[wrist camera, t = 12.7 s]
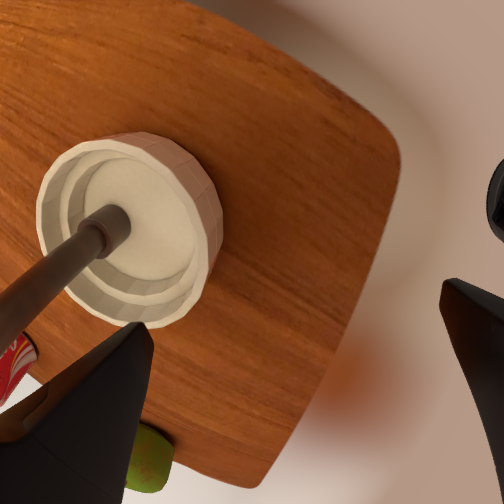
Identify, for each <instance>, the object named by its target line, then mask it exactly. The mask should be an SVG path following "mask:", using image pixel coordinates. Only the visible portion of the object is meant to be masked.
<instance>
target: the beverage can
mask: <svg viewBox="0 0 504 504" xmlns="http://www.w3.org/2000/svg"><path fill="white" fill-rule="evenodd" d="M36 359H37V356H36V353H35V349H34V347H33V345H32V343H31V342H30V340H29V339H28V338H27V337H26V336H25V335H24V334H23V333H21V334H20V335H19V336H18V338H17V339H16V340H15V341H14V342H13V343H12V344H11V346H10V347H9V348H8V349H7V350H6V352H5V353H4V354H3V355H2V356H1V357H0V407H1V406H2V405H4V403H5V402H6V401H7V399H8V398H9V396H10V395H11V393H12V392H13V390H14V389H15V388H16V386H17V385H18V384H19V382H20V381H21V379H22V378H23V377H24V375H25V374H26V373H27V371H28V370H29V369H30V367H31V366H32V365H33V363H34V362H35V361H36Z"/></svg>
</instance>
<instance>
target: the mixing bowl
mask: <svg viewBox="0 0 504 504" xmlns="http://www.w3.org/2000/svg"><path fill="white" fill-rule="evenodd" d="M108 204H113V205H117V206H119V207H121V208H122V209H123V210H124V211H125V212H126V213H127V215H128V217H129V219H130V223H131V231H130V235H129V237H128V238H127V239H126V240H125V241H124V242H123V243H122V244H121V245H120V246H118V247H117V248H116V249H115V250H114V251H113V252H112V253H111V254H110V255H109V256H108V257H106V258H104V259H94V260H93V261H92V262H91V263H90V264H89V265H88V266H87V267H86V268H85V269H84V270H82V271H81V272H80V273H79V274H78V275H77V276H76V277H75V278H74V279H73V280H72V281H71V282H70V283H69V284H68V285H67V286H66V287H65V288H64V289H65V291H66V292H67V293H68V294H69V295H70V297H72V299H74V300H75V301H76V302H77V303H79V304H80V305H81V306H82V307H83V308H85V309H86V310H87V311H89V312H90V313H91V314H93V315H95V316H97V317H99V318H101V319H103V320H105V321H107V322H109V323H111V324H114V325H117V326H122V327H124V326H125V325H127V324H128V323H130V322H136V321H141V322H143V323H144V324H145V325H146V327H147V329H152V328H161V327H164V326H166V325H168V324H170V323H172V322H174V321H176V320H178V319H180V318H182V317H184V316H185V315H186V314H187V312H188V311H189V310H190V309H191V308H192V307H193V305H194V304H195V303H196V302H197V301H198V300H199V298H200V297H201V294H202V292H203V290H204V288H205V285H206V283H207V281H208V278H209V276H210V274H211V272H212V270H213V267H214V265H215V263H216V260H217V257H218V254H219V251H220V248H221V245H222V242H223V210H222V207H221V204H220V201H219V198H218V195H217V192H216V189H215V186H214V183H213V182H212V180H211V179H210V178H209V176H208V175H207V173H206V172H205V171H204V169H203V168H202V167H201V165H200V164H199V162H198V161H197V160H196V158H194V156H193V155H191V154H190V153H188V152H187V151H186V150H184V149H183V148H182V147H180V146H179V145H177V144H176V143H175V142H173V141H172V140H170V139H167V138H164V137H161V136H157V135H154V134H150V133H147V132H130V133H120V134H114V135H110V136H105V137H101V138H97V139H93V140H89V141H85V142H82V143H80V144H78V145H76V146H75V147H73V148H71V149H70V150H68V151H66V152H65V153H63V154H61V155H60V156H59V157H58V158H57V160H56V161H55V162H54V164H53V165H52V166H51V168H50V169H49V170H48V172H47V173H46V174H45V176H44V178H43V181H42V185H41V188H40V191H39V195H38V198H37V202H36V229H37V233H38V237H39V241H40V245H41V249H42V253H43V255H44V257H45V256H46V255H47V254H49V253H50V252H51V251H53V250H54V249H55V248H57V247H58V246H59V245H61V244H62V243H63V242H65V241H66V240H67V239H69V238H70V237H71V236H73V235H74V234H75V233H77V228H78V225H79V223H80V222H81V221H82V220H83V219H84V218H86V217H88V216H89V215H91V214H92V213H94V212H95V211H97V210H98V209H100V208H101V207H103V206H105V205H108Z"/></svg>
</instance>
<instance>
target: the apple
mask: <svg viewBox="0 0 504 504" xmlns="http://www.w3.org/2000/svg"><path fill="white" fill-rule="evenodd" d="M173 456H174V448H173V447H172V445H171V444H170V443H169V442H168V441H167V440H166V439H165V438H164V437H163V436H162V435H161V434H160V433H158V432H157V431H156V430H154V429H153V428H151V427H149V426H146V425H144V424H141V423H139V425H138V429H137V433H136V437H135V442H134V446H133V450H132V455H131V459H130V464H129V469H128V473H127V478H126V483H125V487H126V488H129V489H132V490H135V491H139V492H143V493H154V492H157V491H160V490H162V488H163V487H164V485H165V484H166V483H167V480H168V477H169V473H170V469H171V466H172V461H173Z"/></svg>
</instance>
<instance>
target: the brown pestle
mask: <svg viewBox="0 0 504 504" xmlns="http://www.w3.org/2000/svg"><path fill="white" fill-rule="evenodd" d="M130 231H131V223H130V219H129V217H128V215H127V213H126V212H125V211H124V210H123V209H122V208H121V207H119V206H117V205H113V204H108V205H105V206H103V207H101V208H100V209H98V210H97V211H95V212H94V213H92V214H91V215H89V216H88V217H86V218H84V219H83V220H82V221H81V222H80V223H79V225H78V228H77V233H75V234H74V235H73V236H71V237H70V238H69V239H67V240H66V241H65V242H63V243H62V244H61V245H59V246H58V247H57V248H55V249H54V250H53V251H51V252H50V253H49V254H47V255H46V256H45V257H44V258H42V259H41V260H40V261H39V262H37V263H36V264H35V265H34V266H32V267H31V268H30V269H29V270H28V271H26V272H25V273H24V274H23V275H22V276H20V277H19V278H18V279H17V280H16V281H15V282H13V283H12V284H11V285H10V286H9V287H8V288H7V289H5V290H4V291H3V292H2V293H1V294H0V357H1V356H2V355H3V354H4V353H5V352H6V350H7V349H8V348H9V347H10V346H11V344H12V343H13V342H14V341H15V340H16V339H17V338H18V336H19V335H20V334H21V333H22V332H23V331H24V330H25V329H26V328H27V326H28V325H29V324H30V323H31V322H32V321H33V320H34V319H35V318H36V317H37V316H38V315H39V313H40V312H41V311H42V310H43V309H44V308H45V307H46V306H47V305H48V304H49V303H50V302H51V301H52V300H53V299H54V298H55V297H56V296H57V295H58V294H59V293H60V292H61V291H62V290H63V289H64V288H65V287H66V286H67V285H68V284H69V283H70V282H71V281H72V280H73V279H74V278H75V277H76V276H77V275H78V274H79V273H80V272H81V271H82V270H84V269H85V268H86V267H87V266H88V265H89V264H90V263H91V262H92V261H93V260H94V259H104V258H106V257H108V256H109V255H110V254H111V253H112V252H113V251H114V250H115V249H116V248H117V247H118V246H120V245H121V244H122V243H123V242H124V241H125V240H126V239H127V238H128V237H129V235H130Z"/></svg>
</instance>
